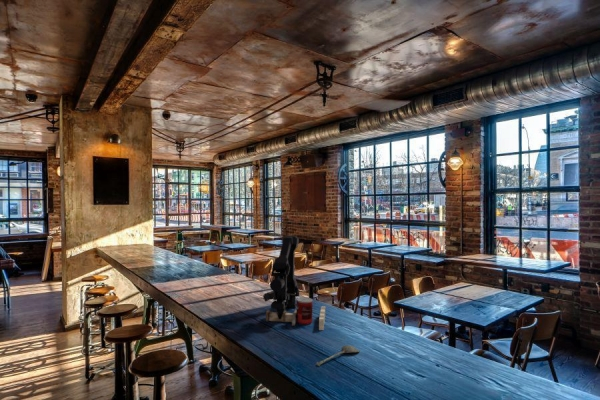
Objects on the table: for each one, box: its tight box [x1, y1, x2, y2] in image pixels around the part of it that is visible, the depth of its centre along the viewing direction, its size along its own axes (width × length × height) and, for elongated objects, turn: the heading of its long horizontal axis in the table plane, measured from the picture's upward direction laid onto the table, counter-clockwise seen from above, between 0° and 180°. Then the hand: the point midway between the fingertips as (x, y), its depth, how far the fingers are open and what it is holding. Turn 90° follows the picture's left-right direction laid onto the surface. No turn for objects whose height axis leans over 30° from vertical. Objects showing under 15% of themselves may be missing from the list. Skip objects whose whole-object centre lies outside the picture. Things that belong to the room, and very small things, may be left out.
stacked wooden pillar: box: [265, 308, 297, 326], centre depth 174 cm, size 15×12×4 cm
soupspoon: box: [316, 345, 360, 367], centre depth 134 cm, size 22×3×7 cm
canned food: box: [296, 296, 314, 325], centre depth 173 cm, size 8×8×11 cm
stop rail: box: [318, 305, 326, 331], centre depth 172 cm, size 20×2×5 cm, turn 174°
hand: (280, 318), depth 174 cm, fingers closed on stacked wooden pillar, 2 cm apart
